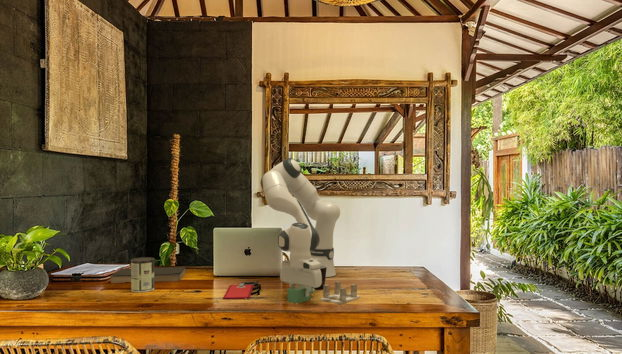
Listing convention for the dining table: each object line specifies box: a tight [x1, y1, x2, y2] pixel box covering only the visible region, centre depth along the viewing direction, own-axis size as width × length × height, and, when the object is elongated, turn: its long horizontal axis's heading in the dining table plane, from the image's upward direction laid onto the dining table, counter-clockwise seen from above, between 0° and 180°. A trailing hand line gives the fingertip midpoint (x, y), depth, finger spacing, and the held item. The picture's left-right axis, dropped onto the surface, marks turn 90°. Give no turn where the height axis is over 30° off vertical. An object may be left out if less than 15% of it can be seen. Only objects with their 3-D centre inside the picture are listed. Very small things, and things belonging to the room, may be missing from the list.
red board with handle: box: [222, 281, 262, 300], centre depth 217 cm, size 30×3×15 cm
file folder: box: [109, 266, 187, 284], centre depth 246 cm, size 33×4×24 cm
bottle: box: [286, 285, 316, 304], centre depth 201 cm, size 5×14×6 cm, turn 142°
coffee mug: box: [311, 265, 327, 291], centre depth 222 cm, size 12×9×10 cm
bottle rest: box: [320, 280, 360, 305], centre depth 202 cm, size 10×14×6 cm
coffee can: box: [130, 256, 155, 293], centre depth 218 cm, size 10×10×14 cm
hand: (300, 295), depth 200 cm, fingers open, 5 cm apart
